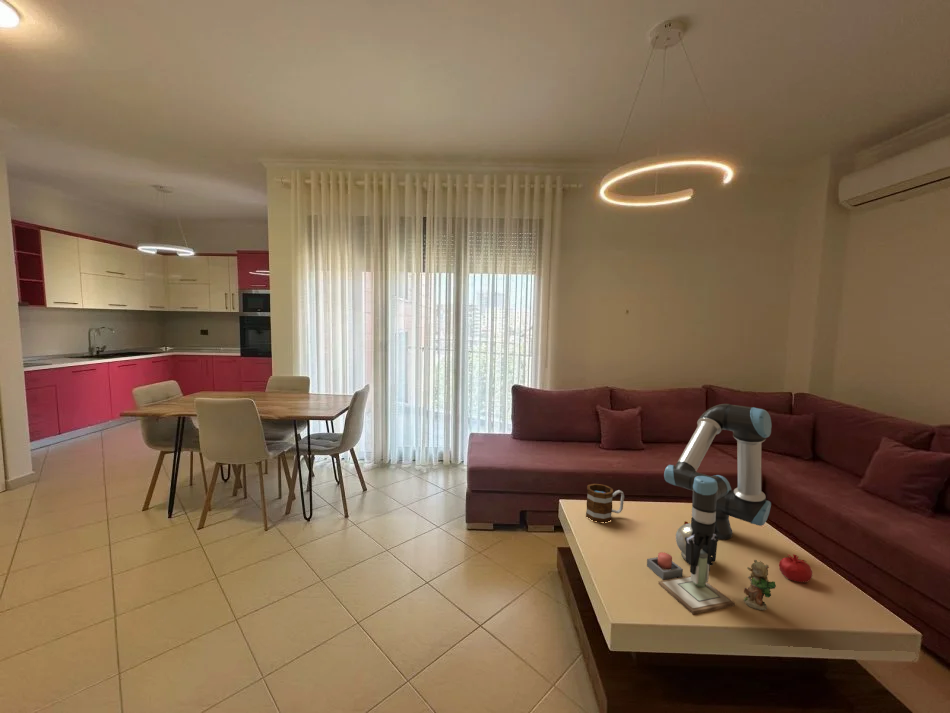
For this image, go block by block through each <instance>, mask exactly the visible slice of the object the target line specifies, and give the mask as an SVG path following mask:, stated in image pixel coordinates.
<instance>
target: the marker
mask: <svg viewBox="0 0 950 713" xmlns="http://www.w3.org/2000/svg"><path fill="white" fill-rule="evenodd" d="M707 558H708V553H706V552H705V551H703V550H701V551H700V556H699V560H698V565H697V566H699V577H698V584H696V583H694V582H693V583H694V584H695V585H697V586H699V587H705V586H706V571H707Z"/></svg>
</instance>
